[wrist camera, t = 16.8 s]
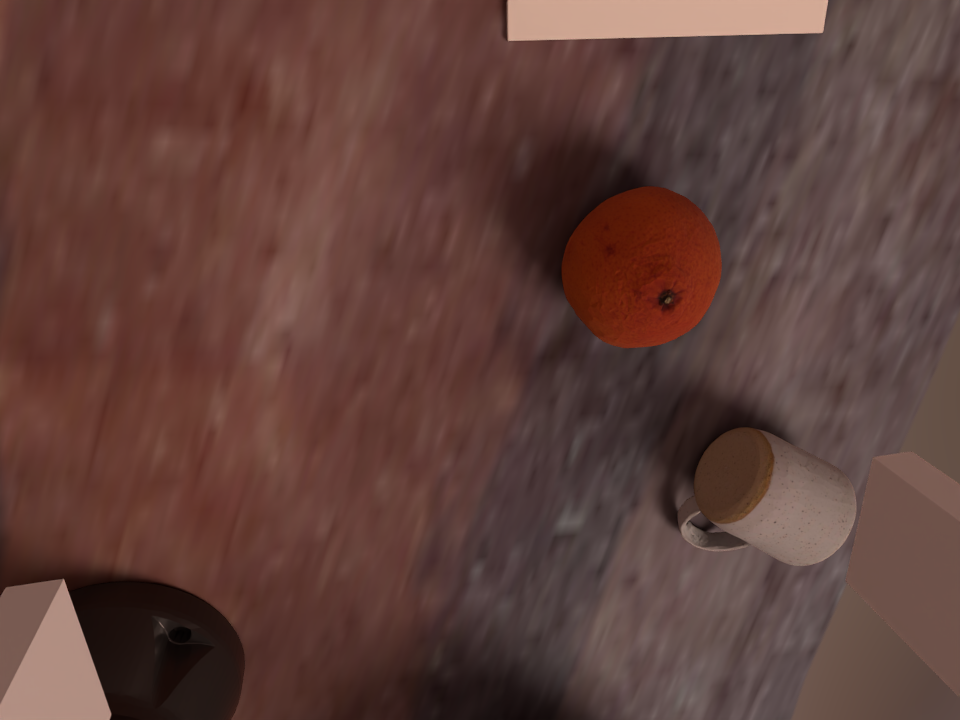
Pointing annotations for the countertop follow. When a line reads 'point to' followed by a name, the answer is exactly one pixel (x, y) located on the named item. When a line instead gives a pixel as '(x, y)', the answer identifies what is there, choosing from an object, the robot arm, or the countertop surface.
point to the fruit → (642, 267)
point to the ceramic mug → (769, 499)
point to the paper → (660, 18)
